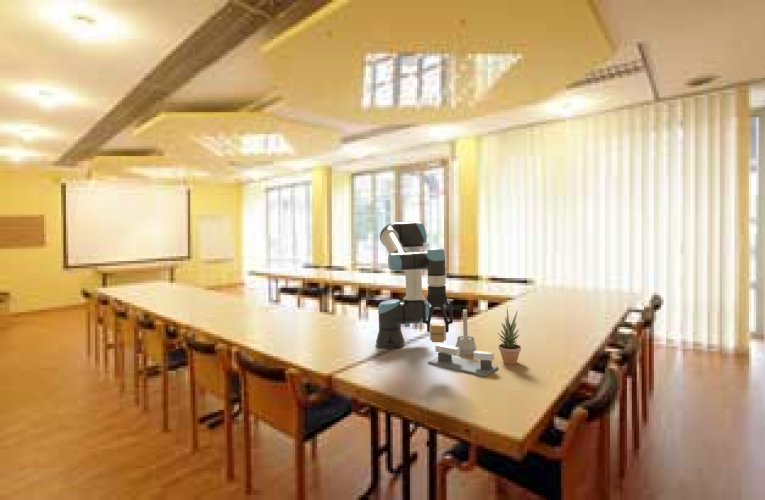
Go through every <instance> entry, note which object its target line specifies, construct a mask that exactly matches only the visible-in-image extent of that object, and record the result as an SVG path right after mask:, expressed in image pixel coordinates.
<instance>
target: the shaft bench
mask: <svg viewBox="0 0 765 500" xmlns="http://www.w3.org/2000/svg"><path fill="white" fill-rule="evenodd" d="M479 361H480V362H478V361H476V360H474V361H473V360H470V359H465V358H461V357H457V356H453V355H449V354H444V353H439V352H437V357H435V358H432V359H430V360H429V361H428V362H427V363H428V364H429V365H433V366H436V367H440V368H441V367H442V368H445V369H449V370H454V371H458V372H461V373H465V374H469V375H470V374H471V375H475V376H477V377H478V376H479V377H482V378H485V377H487V376H488V375H491V374H492V373H493V372H495V371H497V370H499V366H497V365H493V363H492V362H493V361H483V360H479Z"/></svg>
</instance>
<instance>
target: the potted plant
mask: <svg viewBox="0 0 765 500" xmlns="http://www.w3.org/2000/svg"><path fill="white" fill-rule="evenodd" d="M506 308H507V309H506V316H505V317H504V321H505V323H504V322H501V326H502V329H503V330H502V329H500V332H501V334H502V335H501V334H500V333H499V332H497V334H498V335H499V336H500V338H499V340H500V341H501V344H499V345H498V350H499V352H500V356H501V359H502V361H503V363H504V364H507V365H516V364H517V363H518V359H519V356H520V352H521V351H522V347H521V345H519V344H517V343H518V342H517V341H518V340H517V338H519V336H520V334H518V332H519V328H518V329H517V330H516V328H517V323H516V319H517V316H518V310H516V312H515V314H514V316H513V317H514V318H513V320H512V322H511V323H510V316H509V309H508V307H506ZM503 323H504V324H503ZM515 330H516V331H515Z"/></svg>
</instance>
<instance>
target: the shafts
mask: <svg viewBox="0 0 765 500" xmlns="http://www.w3.org/2000/svg"><path fill="white" fill-rule="evenodd" d="M435 353H444V354H449V355H452V357H457V356H460V355H461V354H460V348H458V347H456V346H452V345H447V344H443V343H438V344H435ZM472 355H473V360H474V361H481V360H483V361H492V362H494V359H495V358H494V357H495V356H494V355H495V353H494V352H493V351H483V350H482V351H481V350H476V351H474V353H473V354H472Z"/></svg>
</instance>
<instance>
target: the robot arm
mask: <svg viewBox="0 0 765 500" xmlns="http://www.w3.org/2000/svg"><path fill="white" fill-rule="evenodd" d="M379 233H380V234H379V239H380V240H379V241H380V243H381V244H382V245H383V246H384V247H385V248H386V251H387V253H388V256H387V266H388V269H389V270H390V271H397V272H398V271H399V272H400V271H404V272H405V273H404V275H405V296H404V297H403V301H402V302H401V300H400V299H388V300H384V301H381V302H380V303H379V304H378V305H377V306H378V307H377V308H378V309H377V314H378V333H377V337H376V340H375V342H376V343H375V345H376V347H378V348H381V349H397V348H401V347H403V346H405V338H404V335H403V332H402V327H401V326H402V325H409V324H417V325H418V324H421V323H423V324H425V325H426V332H427V333H429V341H432V338H431V325H432V323H431V321H432V317H433V312H434V309H435V308H440V311H441V314H442V317H443V321H444V342H445V341H447V333H449V330H450V329H449V328H450V327H449V325H451V324H453V322H454V321H453V320H454V319H453V318H454V317H453V316H454V314H453V303H454V299H450V298H448V297H447V286H446V282H447V281H446V279H447V278H446V252H445V251H446V250H445V249H444V248H441V247H440V248H439V247H436V248H435V247H433V248H427V250H425V251H421V250H422V249H423V247H424V244H425V243H427V231H426V228H425V225H424V224H423V222H421V221H413V220H412V221H401V222H400V221H398V222H396V221H395V222H391V223H388V224H386V225H385V226H384V227H383V228H382V229H381V231H380V232H379ZM422 270H426V273H427V285H428V286H427V297H425V295H423V282H422V281H423V280H422ZM446 303H447V304H448V314H449V315H448V316H447V313H446V309H445V305H446ZM429 305H430V306H429ZM448 317H449V319H448Z"/></svg>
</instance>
